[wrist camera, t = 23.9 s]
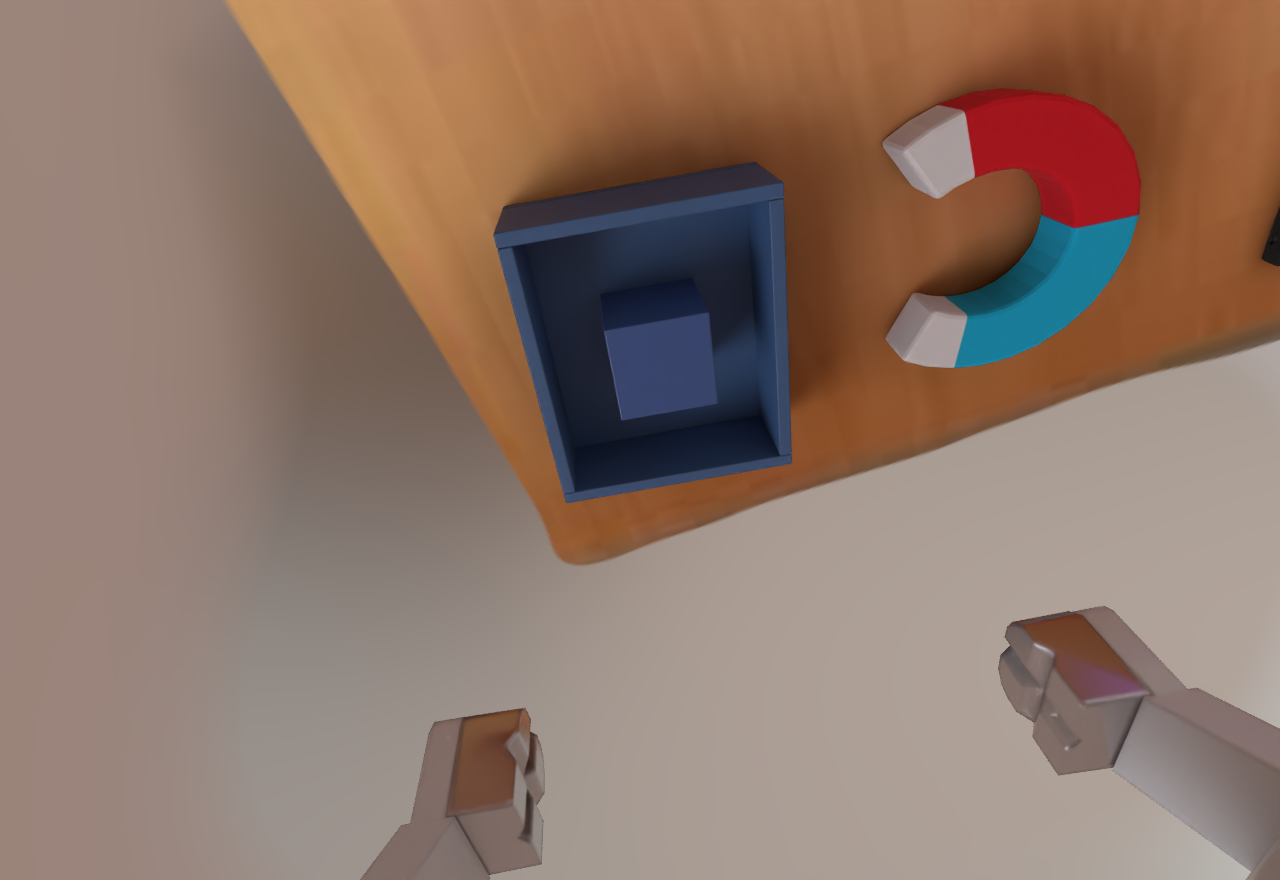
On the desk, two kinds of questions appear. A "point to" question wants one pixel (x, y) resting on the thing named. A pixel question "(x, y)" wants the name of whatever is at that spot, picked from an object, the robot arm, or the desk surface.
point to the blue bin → (642, 256)
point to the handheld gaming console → (1273, 244)
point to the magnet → (1068, 229)
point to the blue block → (659, 348)
